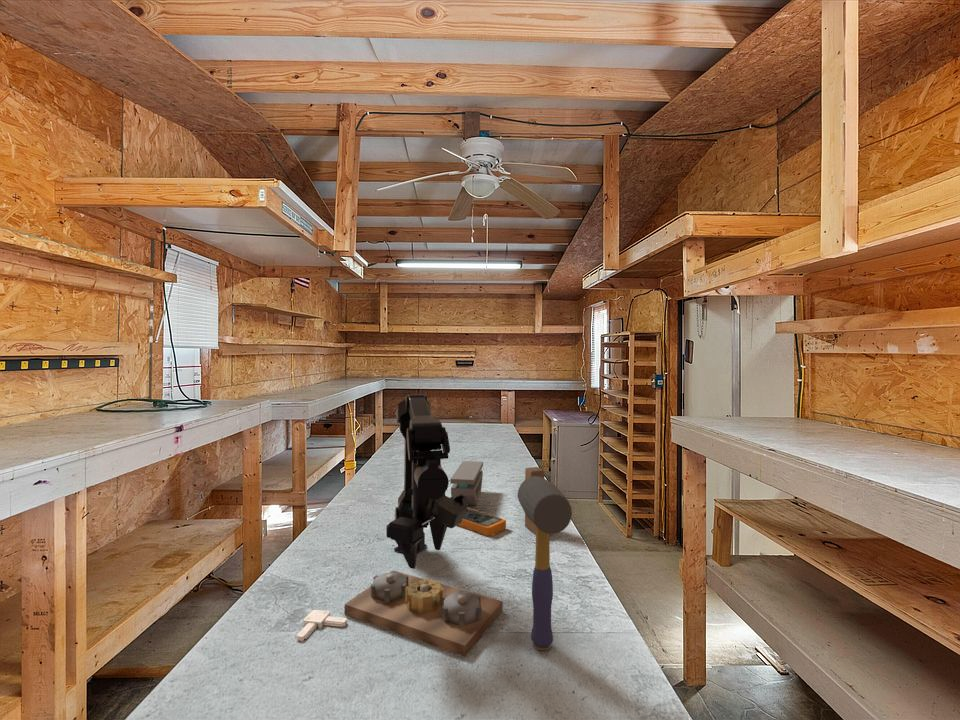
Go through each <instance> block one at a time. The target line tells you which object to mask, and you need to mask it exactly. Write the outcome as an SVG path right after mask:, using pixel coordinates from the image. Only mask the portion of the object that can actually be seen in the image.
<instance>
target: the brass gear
mask: <svg viewBox="0 0 960 720" xmlns="http://www.w3.org/2000/svg"><path fill="white" fill-rule="evenodd" d="M424 579H425V580H419V581H417V580H415V581H413V582H412V584H410V585H409V586H406V588H405V603H407V609H408V610H409V611H410V610H413V611H416V612H418V613H421V614H423V612H429V611H433V612H434V611H436V610H437V608H438V607H439V606H440V605H443V588H442V587H441V584H442V582H441V581H436V580H434V579H433V580H432V579H431V578H424ZM422 584H428V592H420V586H421V585H422Z"/></svg>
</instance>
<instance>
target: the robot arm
mask: <svg viewBox="0 0 960 720" xmlns="http://www.w3.org/2000/svg"><path fill="white" fill-rule="evenodd" d="M395 415H396V417H395V418H396V420H395V421H396V424H398V428H399V429H398V430H399V431H400V433H401V435H402V437H403V438H404V449H403V450H404V451H403V452H404V453H403V454H404V457H403V459H404V462H403V463H404V464H403V466H404V467H403V470H404V471H403V472H404V473H403V490H402V492H401V493H400V495H399V497H398V498H397V506H396V507H395V509H394V520H392V521H390V522H389V523H388V524H387V525H386V528H385V529H386V530H385V531H386V538H388V539H391V540H393V541H395V542H396V545H397V547H394V549H393V550H394V552H397V553H402V555H403V557H404V560H405V561H406V563H407V565H408V567H409V568H410V569H413V570H414V569H416V566H417V557H418V555H417V554H418V553H420V552H421V551H422V550H425V549H426V548H427V546H428V545H427V544H426V543H425V542H426V537H425V536H426V533H425V532H424V530H425V529H427V528H428V526H429V528H430V533H431V538H432V543H433V547H434V549H435V550H436V551H437V552H438V551H441V549H442V545H443V541H444V539H445V536H446V531H447V530H448V529H454V528H455V527H456V526H458V525H457V524H459V523H461V522H462V519H463V516H464V514H465V513H467V512H468V509H467V508H469V507H468V506H469V505H467V497H466V496H464V495H462V494H460V495H458V496H457V497H456V498H455V499H453V497H452V496H451V497H450V496H446V492H447V490H448V488H449V484H450V482H449V481H450V479H449V477H448V475H447V473H446V472H445V470H444V468H443V467H442V462H441V461H442V459H443V460H447V459H449V454H450V451H451V447H450V441H449V434H448V431H446V427H445V426H443V425H442V424H443V423H442V422H441V420H440V419H439V418H436V417H434V416H432V409H431V402H430V401H428V396H427V395H425V394H423V393H420V394H419V393H418V394H415V393H413V394H408V395H405V399H403V400H402V401H400V402H398V403H397V405H396V411H395Z"/></svg>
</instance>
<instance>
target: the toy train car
mask: <svg viewBox="0 0 960 720" xmlns="http://www.w3.org/2000/svg"><path fill="white" fill-rule="evenodd" d="M483 467H484V461H478V460H477V461H476V460H475V461H473V460H462V462H461V463H460V464H459V466H458V468H457V469H456V471H455V472H454V473H453V475H452V476H451V477H450V479H449V481H450V482H449V484H451V485H452V486H451V487H450V496H451V497H453V499H455V498H456V497H457V496H458V495H460V494H462V495H464V496H466V497H467V506H473V505H476V504H477V505H478V503H479V500H480V498H481V496H482V495H481V494H482V488H483V487H482V486H483V479H484V475H483V474H484V471H483V470H482V469H483ZM480 495H481V496H480ZM479 497H480V498H479ZM478 499H479V500H478ZM477 502H478V503H477ZM477 505H476V506H477Z"/></svg>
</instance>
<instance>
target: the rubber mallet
mask: <svg viewBox="0 0 960 720" xmlns="http://www.w3.org/2000/svg"><path fill="white" fill-rule="evenodd" d="M517 498H518V502H519V504H520V506H521V509H522V510H523V512H524V515H525V514H526V516H527V517H528V518H529V519H530V520H531V521H532V522H533V523H534V524H535V525H536V535H535V555H534V557H535V558H534V559H535V566H534V569H533V573H532V582H531V599H532V608H533V609H532V610H533V611H532V613H533V614H532V629H531V633H530V639H531V641H532V644H533V647H534V649H537V650H539V651H547V650H549V649H550V647H551V645H552V643H553V641H554V633H553V630H552V629H553V628H552V605H553V597H554V586H553V585H554V584H553V583H554V582H553V573H552V569H551V566H550V556H551V555H550V551H551V549H550V546H551V545H550V543H551V542H550V538H551V537H550V536H551V535H555V534H559V533H561V532H562V531H564V530H566V528H567V527H568V526H569V524H570V523H571V520H572V516H573V512H572V511H573V510H572V506H571V504H570V502H569V500H568V498H567V497H566V496H565V495H564V494H563V492H561V490H560V489H559V488H558V487H556V485H554V483H552V482H550V481H549V480H548V479H546V478H545V477H544V478H542V477H538V476H533V477H529V478H527V479H526V480H525V479H524V480H523V481H522V482H521V484H520V485H519V487H518V490H517ZM550 534H551V535H550Z"/></svg>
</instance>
